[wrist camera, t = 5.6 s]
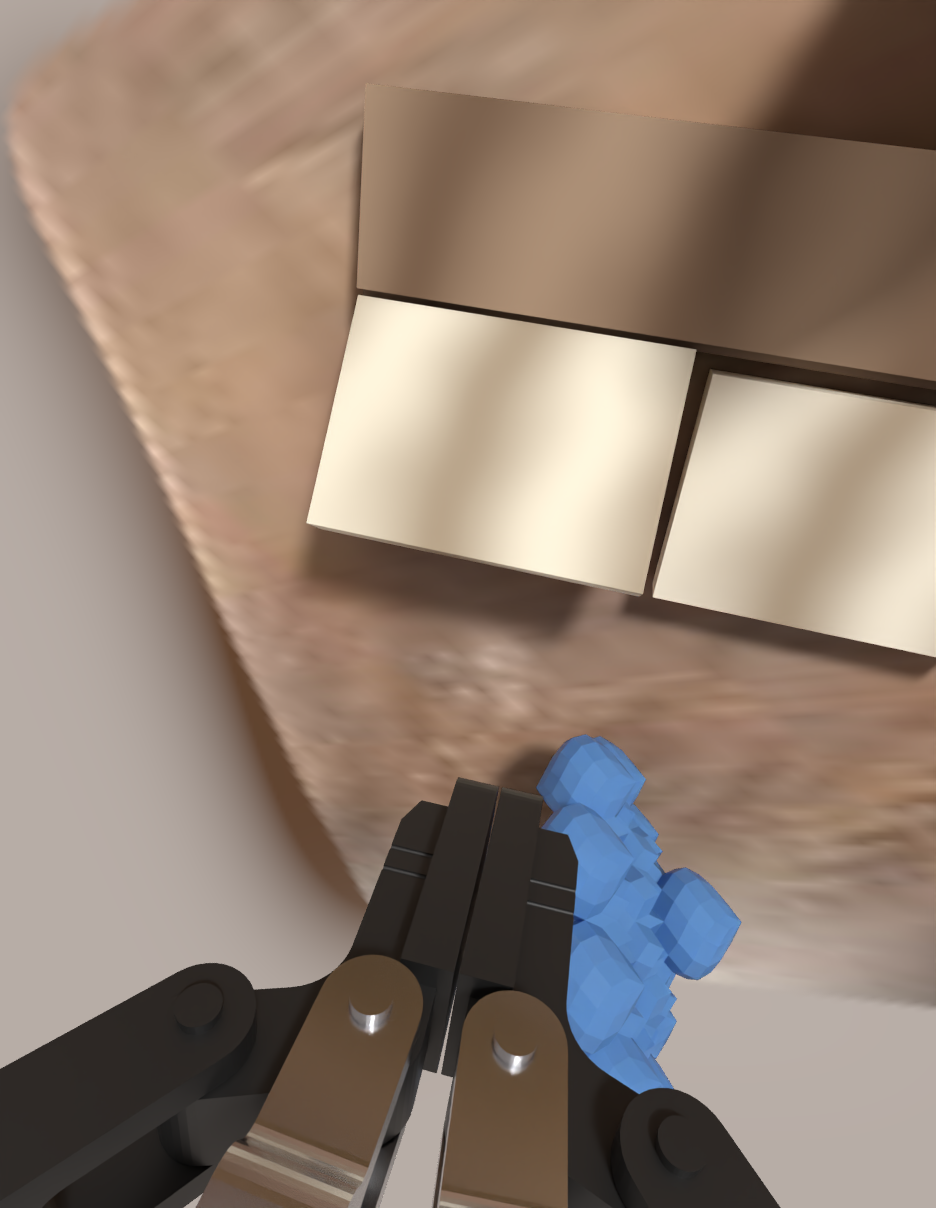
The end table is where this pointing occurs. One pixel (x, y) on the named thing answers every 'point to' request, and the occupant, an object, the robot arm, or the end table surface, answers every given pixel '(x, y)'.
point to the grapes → (626, 914)
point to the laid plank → (654, 230)
